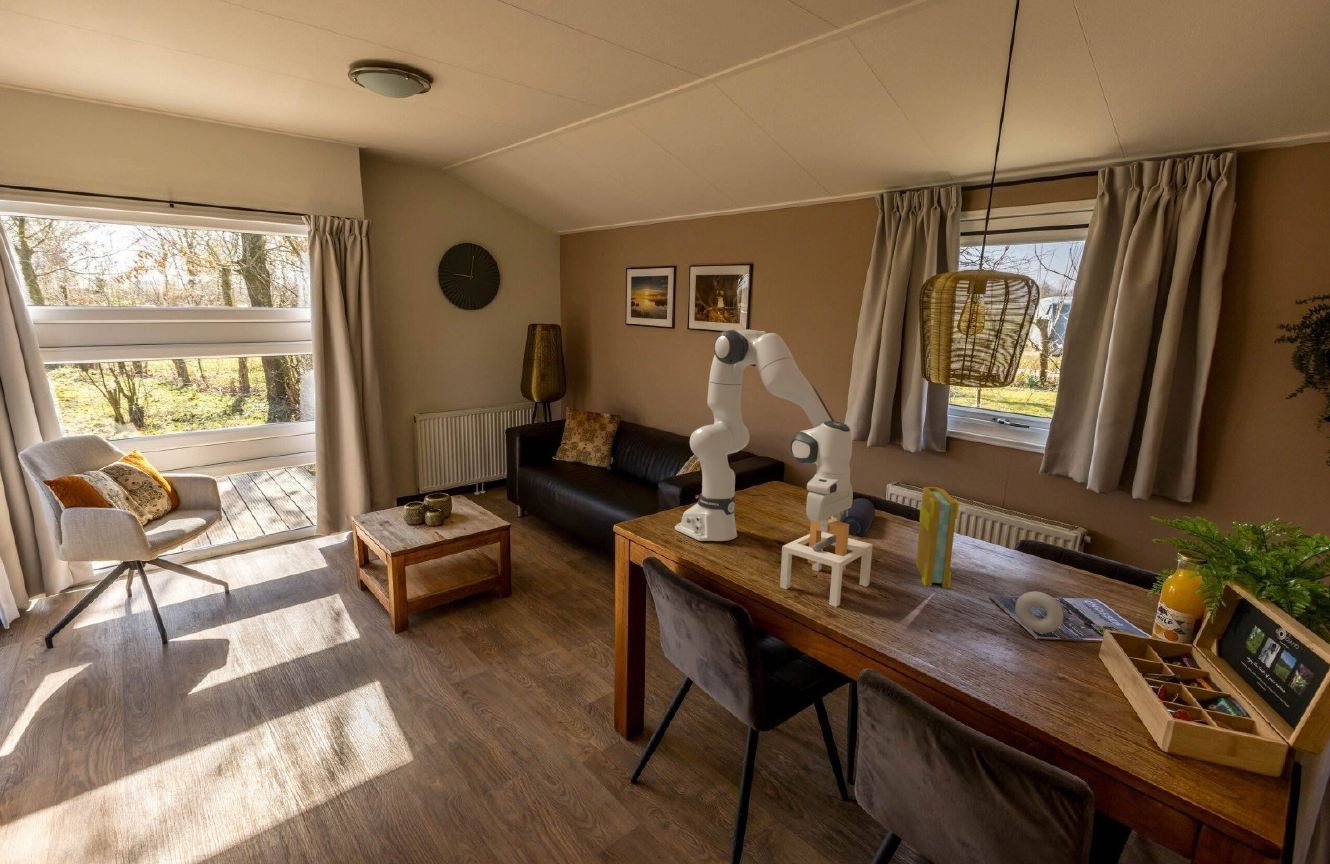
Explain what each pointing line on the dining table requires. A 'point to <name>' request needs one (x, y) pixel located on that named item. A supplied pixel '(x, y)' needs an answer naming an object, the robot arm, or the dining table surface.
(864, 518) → the portable speaker
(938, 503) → the book
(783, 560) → the white miniature table
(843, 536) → the orange arch
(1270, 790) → the dining table surface
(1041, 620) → the donut
